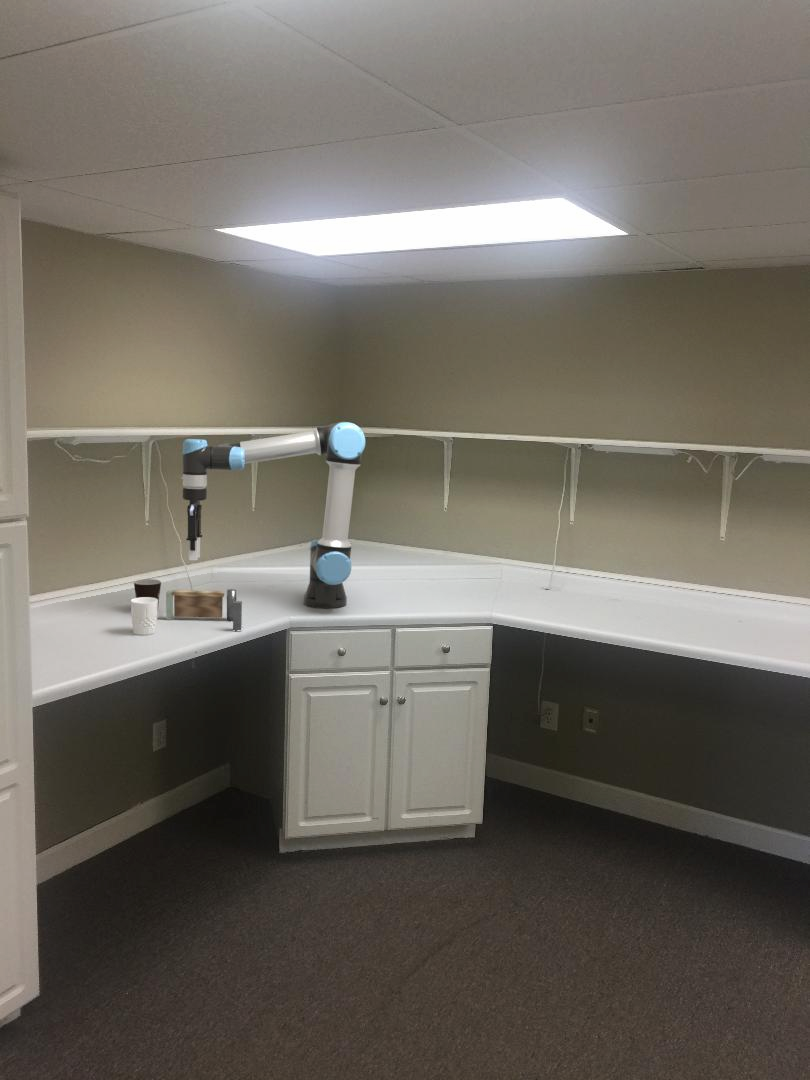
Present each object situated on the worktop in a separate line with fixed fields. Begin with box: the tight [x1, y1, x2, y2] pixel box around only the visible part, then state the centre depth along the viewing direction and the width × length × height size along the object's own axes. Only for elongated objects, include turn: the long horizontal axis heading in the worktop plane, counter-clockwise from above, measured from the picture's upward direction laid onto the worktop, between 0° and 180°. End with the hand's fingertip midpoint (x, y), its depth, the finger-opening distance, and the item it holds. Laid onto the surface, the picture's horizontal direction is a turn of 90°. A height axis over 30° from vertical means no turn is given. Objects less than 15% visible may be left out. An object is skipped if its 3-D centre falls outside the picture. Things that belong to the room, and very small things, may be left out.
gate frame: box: [165, 588, 243, 631], centre depth 272 cm, size 25×15×10 cm, turn 95°
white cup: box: [130, 597, 159, 636], centre depth 260 cm, size 8×8×10 cm
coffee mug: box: [133, 578, 162, 605], centre depth 286 cm, size 12×9×10 cm
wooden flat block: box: [172, 589, 225, 619], centre depth 278 cm, size 16×2×8 cm, turn 95°
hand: (194, 558), depth 282 cm, fingers open, 4 cm apart
